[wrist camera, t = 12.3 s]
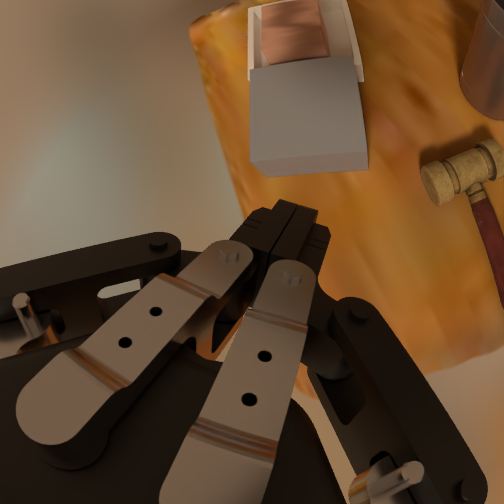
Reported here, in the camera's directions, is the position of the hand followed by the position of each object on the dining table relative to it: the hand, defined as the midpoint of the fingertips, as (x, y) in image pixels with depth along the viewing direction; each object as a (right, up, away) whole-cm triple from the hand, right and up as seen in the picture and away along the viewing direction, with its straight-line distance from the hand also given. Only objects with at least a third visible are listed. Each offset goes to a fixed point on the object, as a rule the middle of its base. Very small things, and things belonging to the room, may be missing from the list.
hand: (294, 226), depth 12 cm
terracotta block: (+4, +21, +21) cm, 30 cm away
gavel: (+25, 0, +17) cm, 30 cm away
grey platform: (+6, +14, +25) cm, 29 cm away
